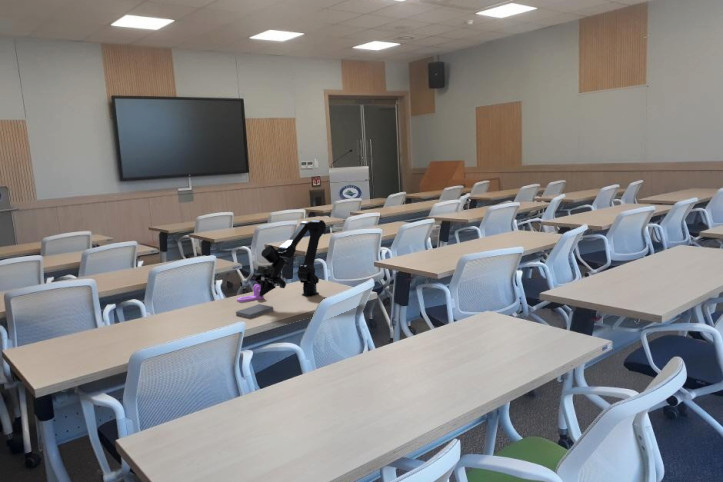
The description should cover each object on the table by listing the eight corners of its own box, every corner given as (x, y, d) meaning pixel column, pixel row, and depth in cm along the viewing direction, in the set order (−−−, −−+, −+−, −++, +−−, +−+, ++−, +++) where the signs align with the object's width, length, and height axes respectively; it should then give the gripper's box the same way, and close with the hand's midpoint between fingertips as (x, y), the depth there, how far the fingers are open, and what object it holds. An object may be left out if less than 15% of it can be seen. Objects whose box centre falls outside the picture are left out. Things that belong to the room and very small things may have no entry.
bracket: (261, 296, 294) (259, 283, 293) (263, 298, 289) (262, 285, 288) (236, 300, 289) (234, 287, 288) (238, 303, 284) (237, 289, 283)
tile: (259, 304, 272) (235, 311, 261) (273, 306, 266) (249, 314, 255) (259, 308, 272) (236, 316, 262) (273, 311, 266) (250, 319, 255)
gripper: (253, 257, 273) (237, 284, 266) (279, 260, 261) (262, 289, 254) (267, 270, 280) (251, 297, 274) (293, 273, 268) (277, 302, 262)
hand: (260, 296), depth 266 cm, fingers closed
